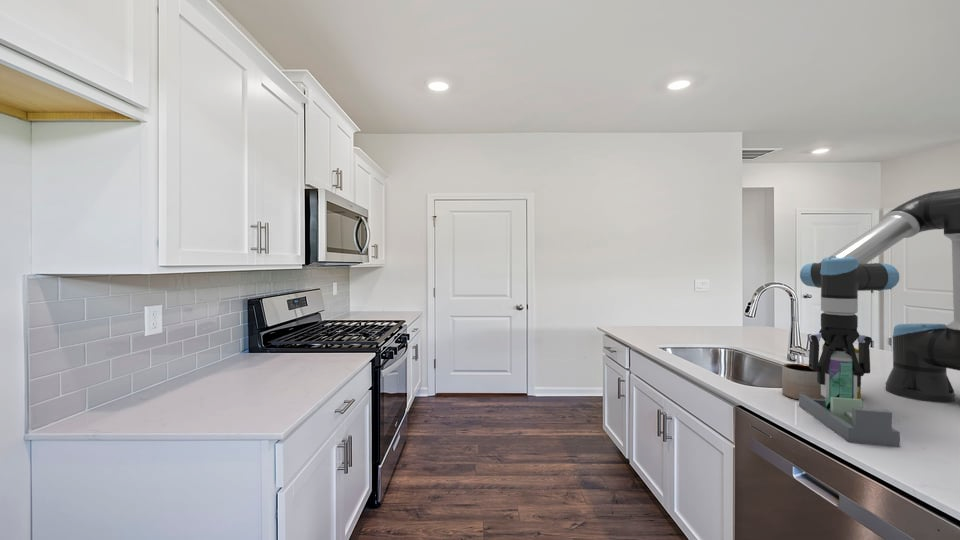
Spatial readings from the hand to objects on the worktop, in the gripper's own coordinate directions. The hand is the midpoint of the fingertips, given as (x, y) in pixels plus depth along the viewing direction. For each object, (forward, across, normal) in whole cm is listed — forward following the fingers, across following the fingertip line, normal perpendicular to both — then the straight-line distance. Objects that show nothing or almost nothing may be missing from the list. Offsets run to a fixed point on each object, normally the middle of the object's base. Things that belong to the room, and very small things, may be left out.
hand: (838, 396), depth 109 cm
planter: (+7, 0, -20) cm, 21 cm away
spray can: (+6, 0, 0) cm, 6 cm away
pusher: (+7, 0, +6) cm, 9 cm away
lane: (+7, 0, +2) cm, 7 cm away
